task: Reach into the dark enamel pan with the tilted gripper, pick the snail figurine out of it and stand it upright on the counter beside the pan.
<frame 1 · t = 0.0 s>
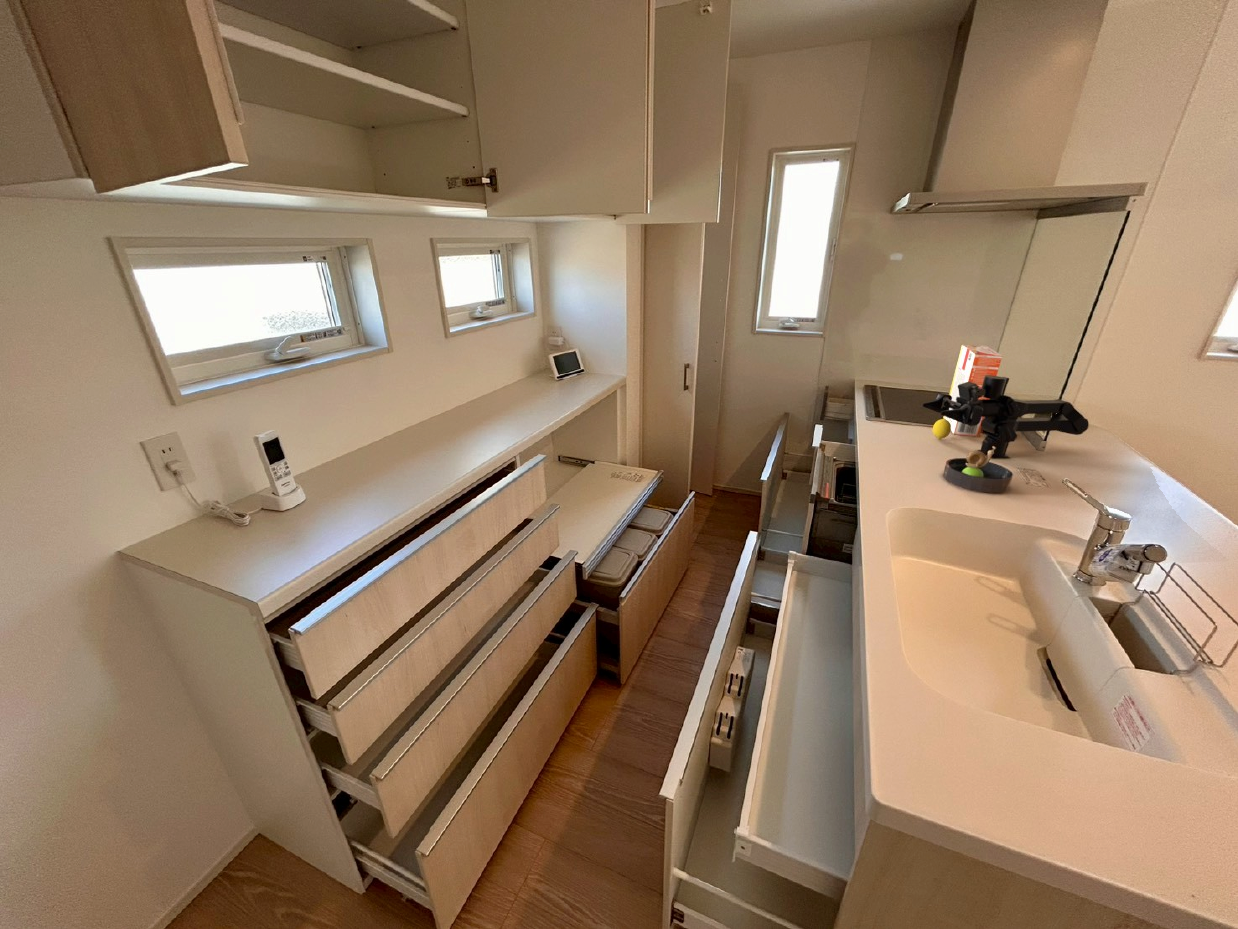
hand: (931, 408, 161), 17 cm above the counter, tool horizontal, fingers open, 9 cm apart
pan: (974, 482, 148), on the counter
snail figurine: (971, 485, 145), resting on pan
red and white box: (959, 427, 196), on the counter
lemon: (938, 439, 183), on the counter
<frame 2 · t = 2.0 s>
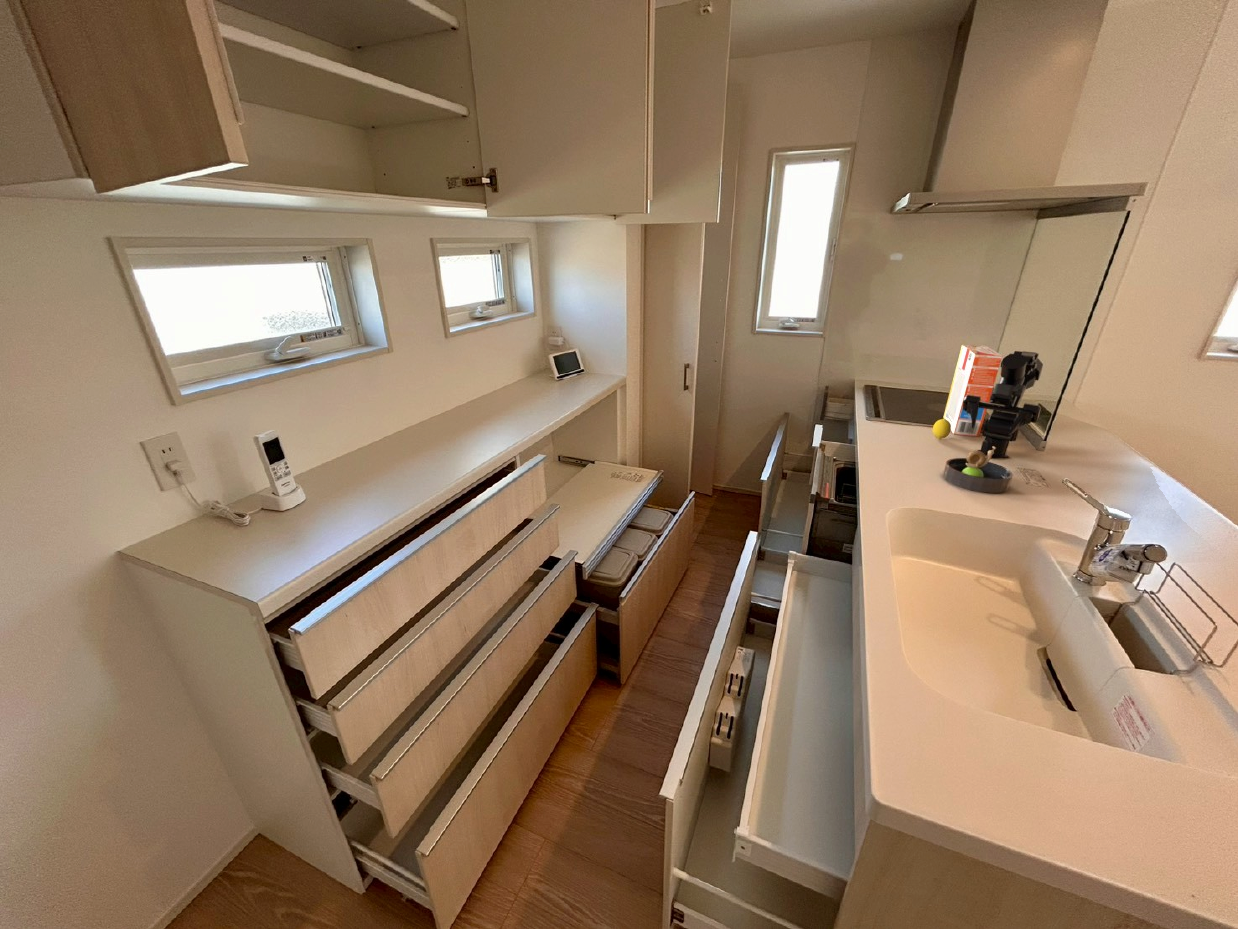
hand: (990, 431, 149), 14 cm above the counter, tool tilted 45°, fingers open, 9 cm apart
nothing on the counter moved.
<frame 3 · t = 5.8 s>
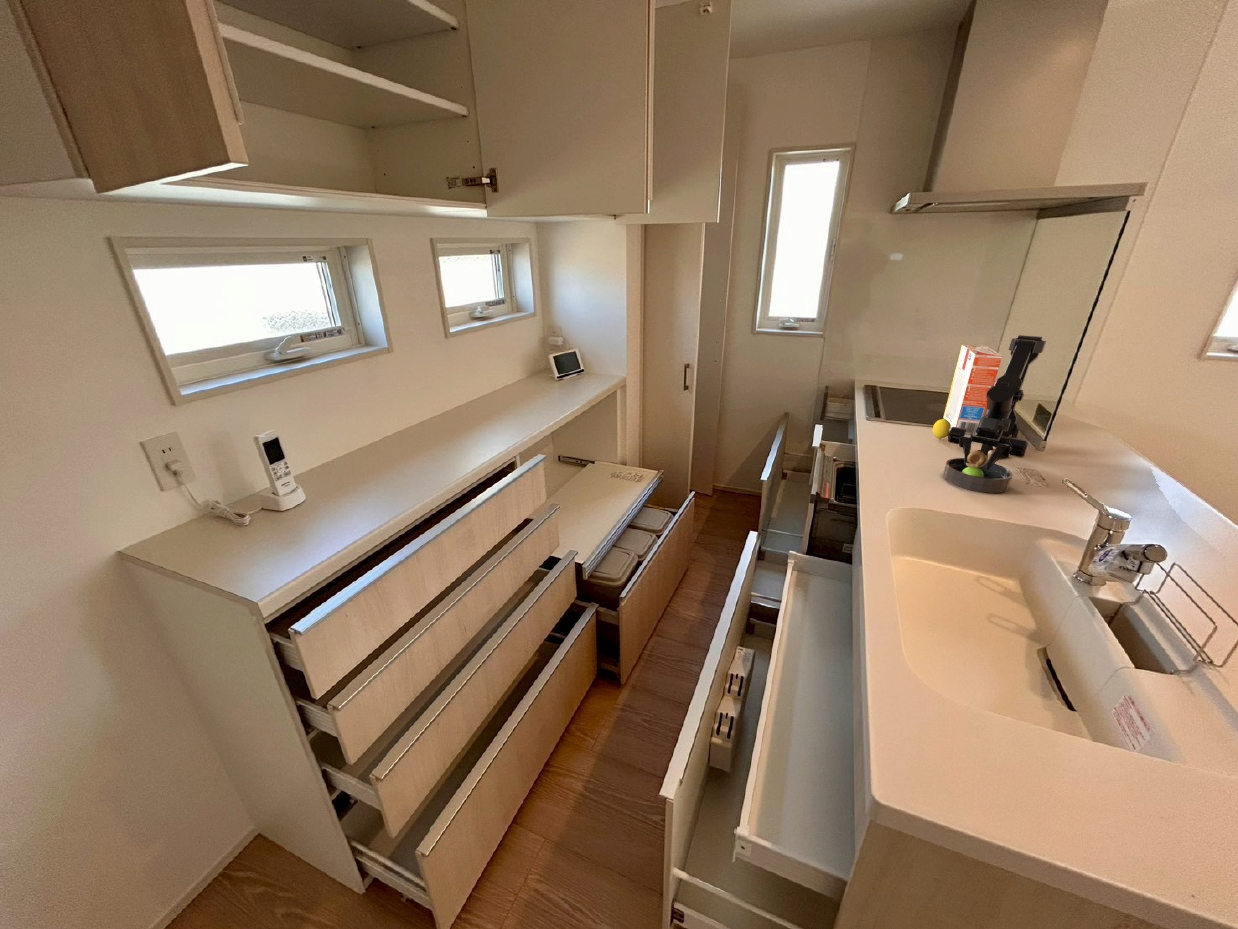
hand: (975, 466, 142), 7 cm above the counter, tool tilted 45°, fingers closed on snail figurine, 5 cm apart
snail figurine: (971, 485, 145), resting on pan, touching gripper
everything else where it was.
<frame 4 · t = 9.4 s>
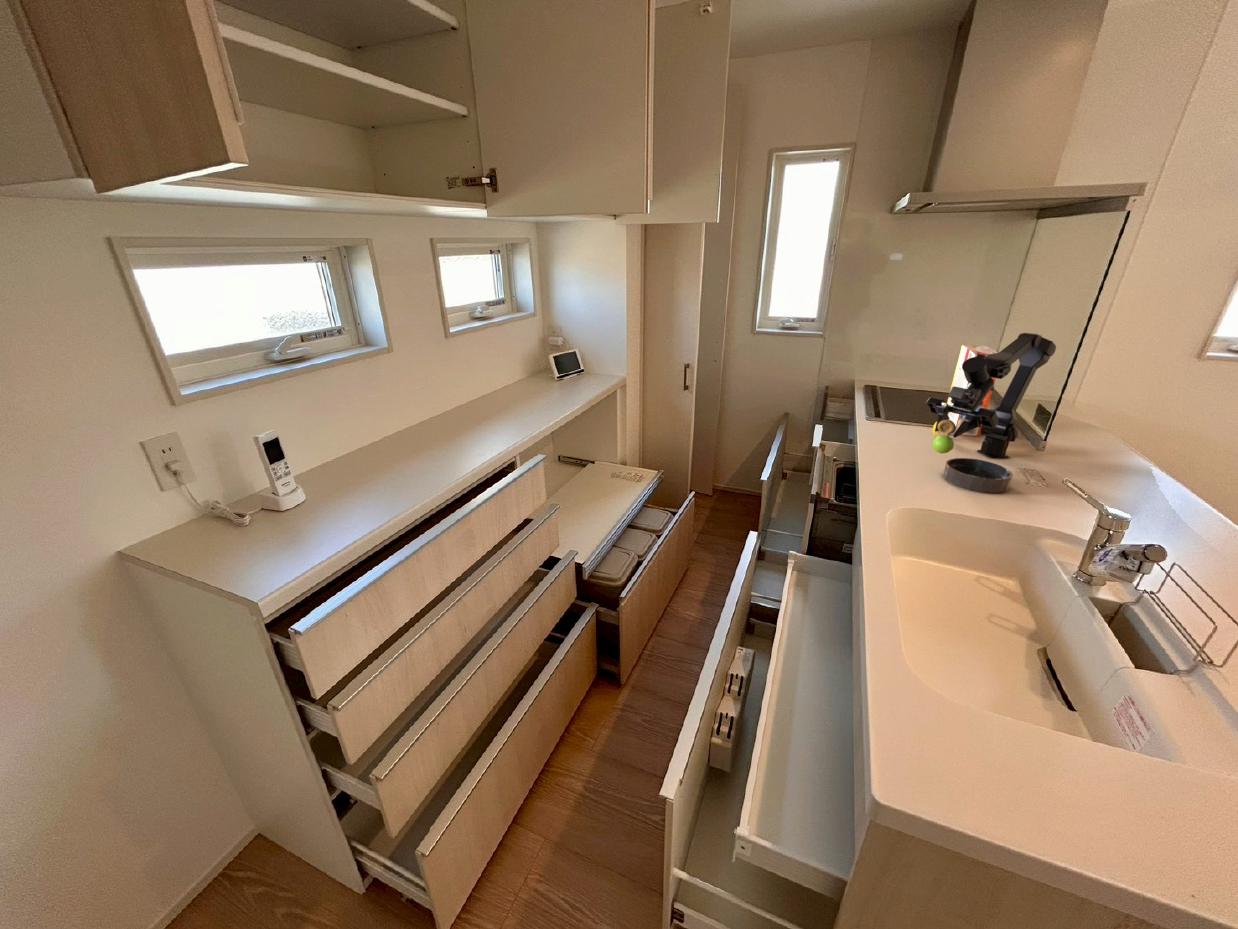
hand: (944, 434, 148), 13 cm above the counter, tool tilted 45°, fingers closed on snail figurine, 5 cm apart
snail figurine: (942, 453, 151), point 7 cm above the counter, touching gripper
everything else where it was.
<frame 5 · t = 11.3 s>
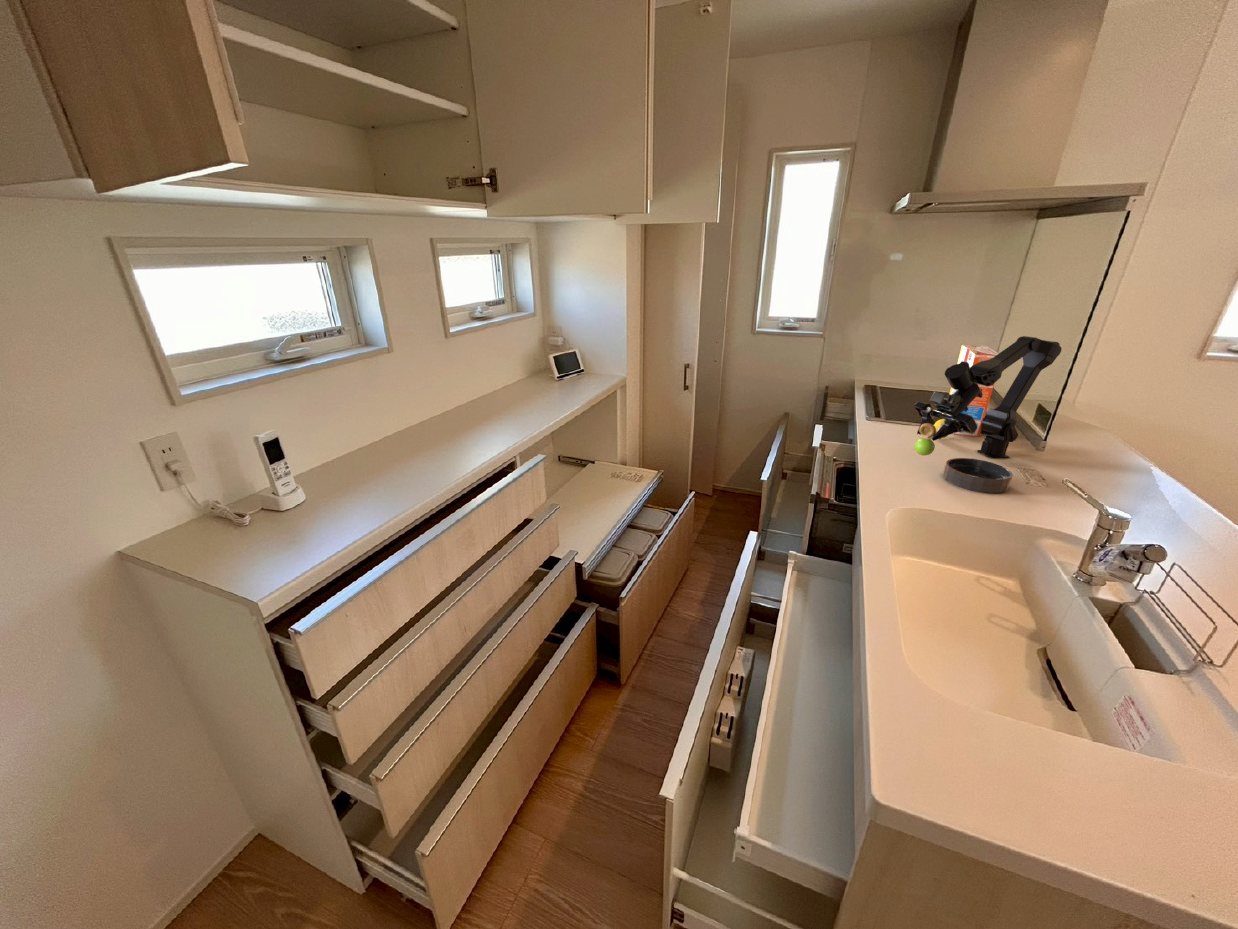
hand: (925, 437, 154), 10 cm above the counter, tool tilted 45°, fingers closed on snail figurine, 5 cm apart
snail figurine: (924, 455, 157), point 4 cm above the counter, touching gripper
everything else where it was.
when the fingers open (6 cm above the counter, at t = 12.9 s): snail figurine stays where it is, on the counter.
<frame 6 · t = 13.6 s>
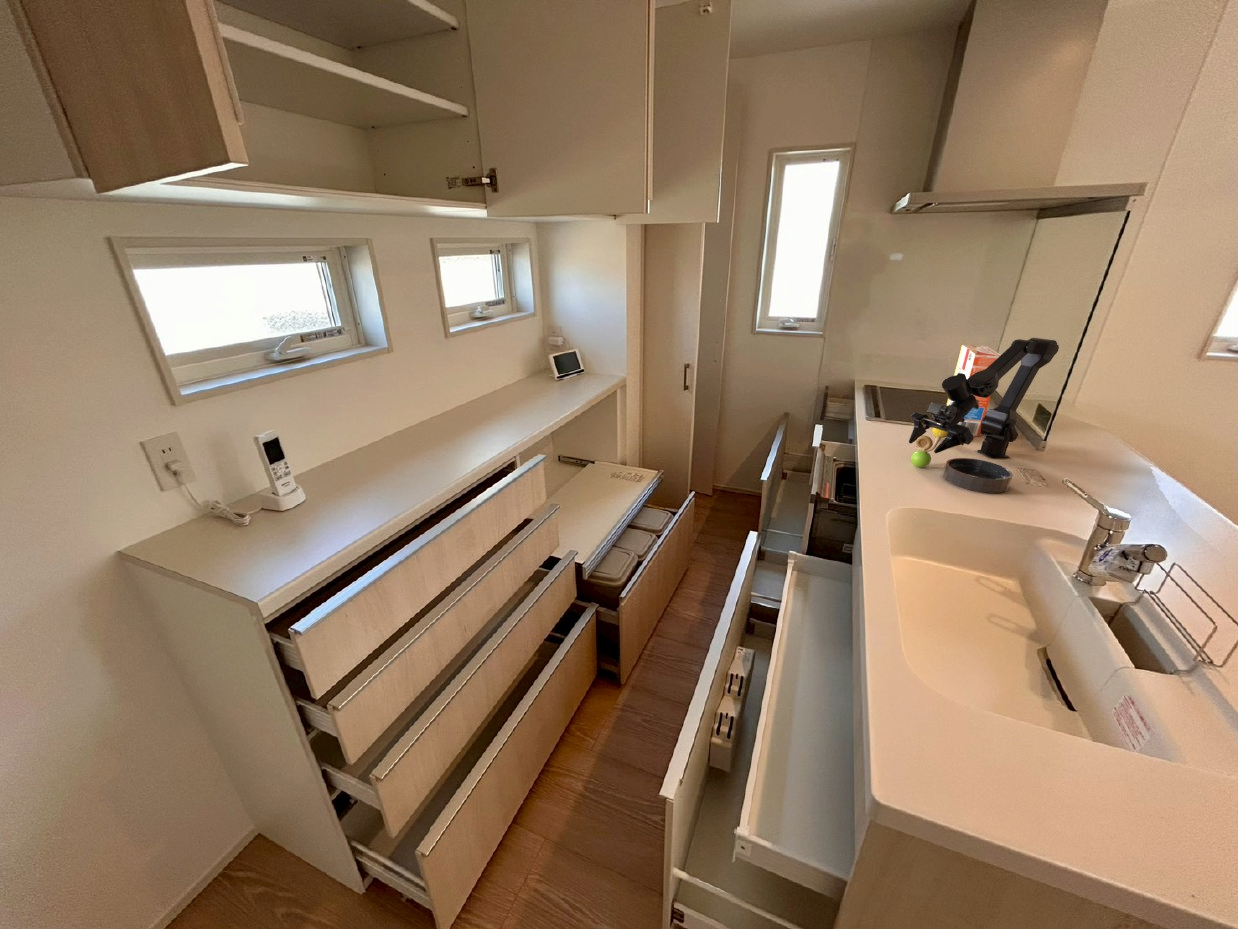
hand: (921, 447, 155), 7 cm above the counter, tool tilted 45°, fingers open, 9 cm apart
snail figurine: (920, 467, 158), on the counter
everything else where it was.
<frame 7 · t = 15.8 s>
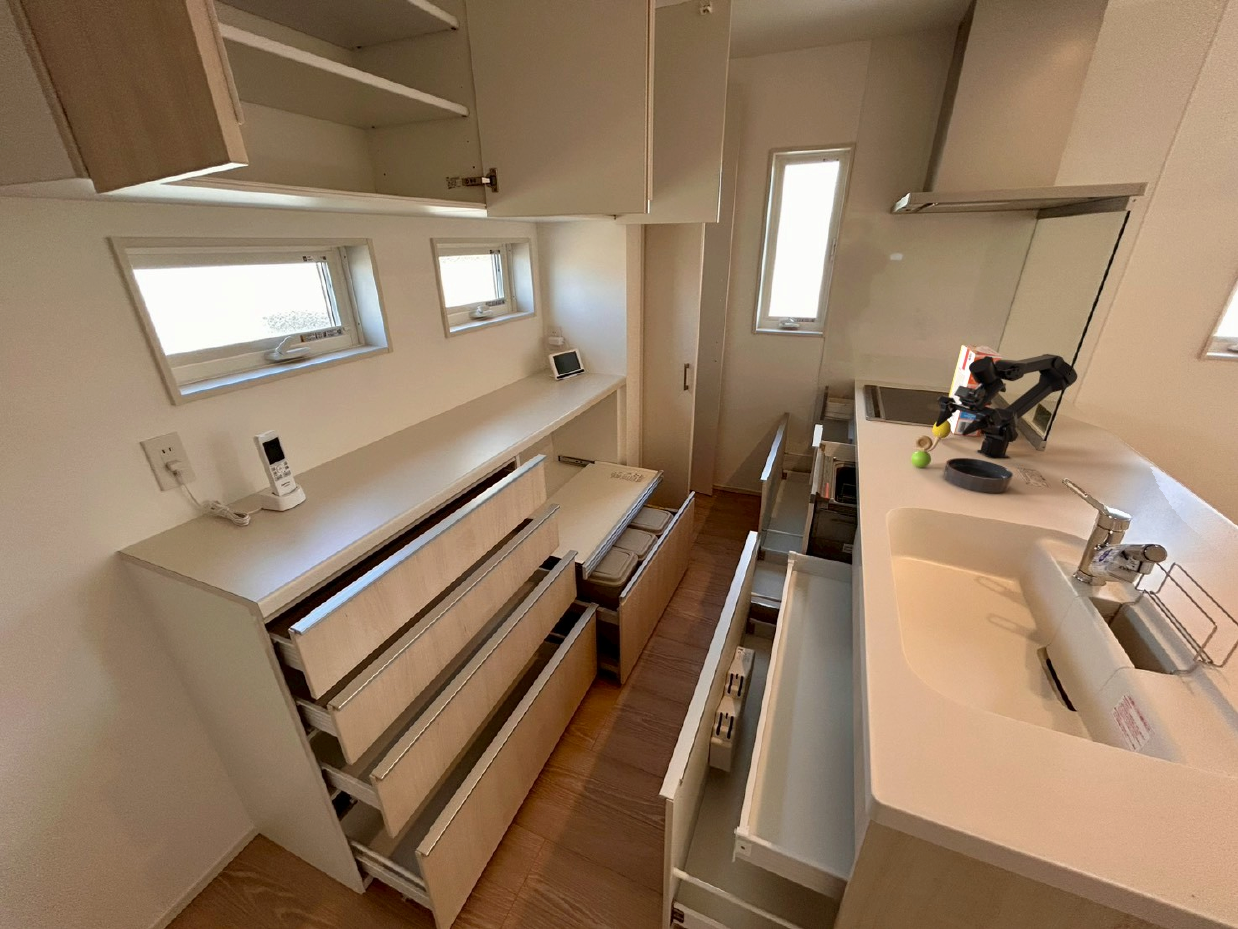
hand: (949, 430, 157), 11 cm above the counter, tool tilted 45°, fingers open, 9 cm apart
nothing on the counter moved.
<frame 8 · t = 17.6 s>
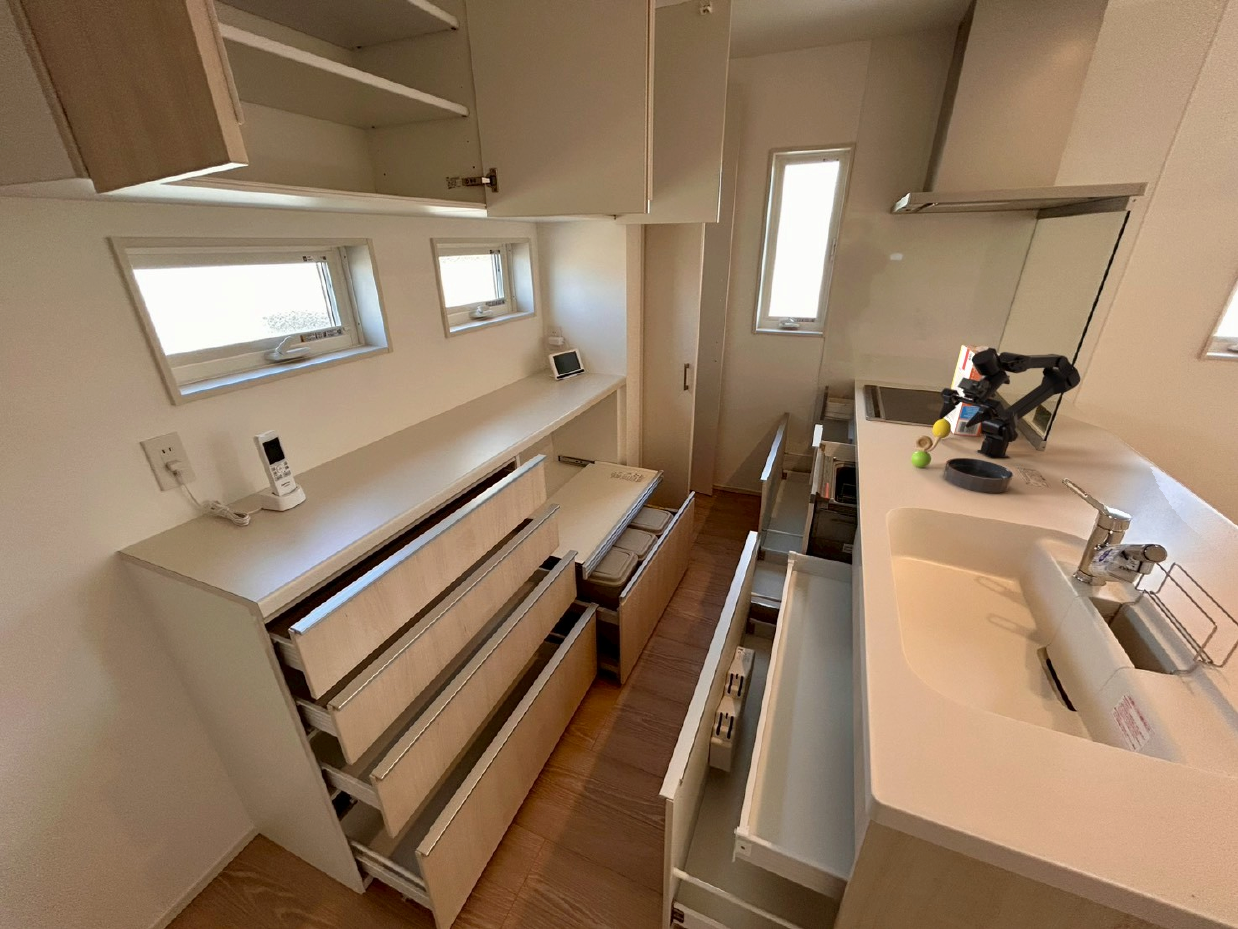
hand: (952, 422, 157), 14 cm above the counter, tool tilted 45°, fingers open, 9 cm apart
nothing on the counter moved.
at the end: snail figurine inside the target area (0.1 cm from its centre), on the counter; snail figurine tilted 0°; snail figurine touching counter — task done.
